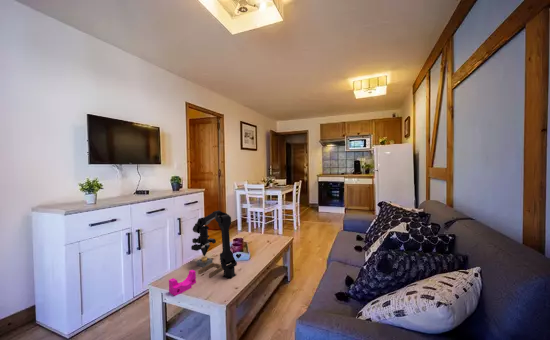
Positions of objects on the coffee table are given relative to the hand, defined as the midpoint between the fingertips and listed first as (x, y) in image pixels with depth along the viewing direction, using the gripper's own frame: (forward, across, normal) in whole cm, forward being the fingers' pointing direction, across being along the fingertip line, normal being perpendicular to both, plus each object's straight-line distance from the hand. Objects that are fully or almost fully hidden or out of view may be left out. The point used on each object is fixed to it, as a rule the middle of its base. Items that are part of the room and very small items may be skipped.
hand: (204, 255), depth 163 cm
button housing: (+6, 0, 0) cm, 6 cm away
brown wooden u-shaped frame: (+6, +9, +13) cm, 17 cm away
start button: (+4, 0, 0) cm, 4 cm away
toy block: (+7, +29, +14) cm, 33 cm away
